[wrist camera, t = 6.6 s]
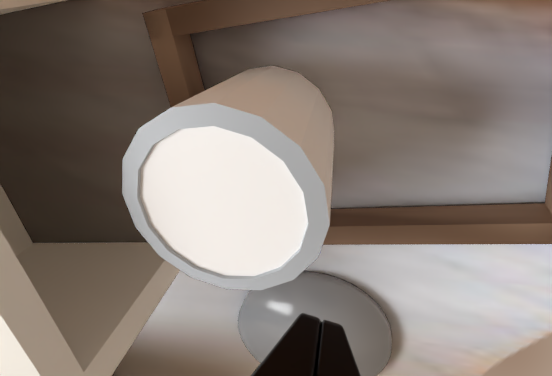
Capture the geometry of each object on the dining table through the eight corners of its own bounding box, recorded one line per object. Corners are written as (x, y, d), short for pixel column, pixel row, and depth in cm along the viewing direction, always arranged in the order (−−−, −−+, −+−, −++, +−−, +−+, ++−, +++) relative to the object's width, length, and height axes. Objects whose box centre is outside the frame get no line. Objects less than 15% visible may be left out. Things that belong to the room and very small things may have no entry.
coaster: (395, 386, 25) (395, 395, 25) (256, 373, 28) (254, 381, 27) (387, 272, 21) (387, 280, 21) (225, 270, 24) (222, 277, 23)
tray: (568, 222, 18) (598, 268, 15) (222, 228, 22) (201, 263, 20) (623, -80, 12) (683, -88, 10) (160, 8, 17) (121, 18, 15)
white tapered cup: (379, 97, 17) (374, 176, 11) (307, 215, 21) (275, 322, 15) (229, 20, 17) (144, 59, 11) (184, 153, 20) (102, 236, 15)
